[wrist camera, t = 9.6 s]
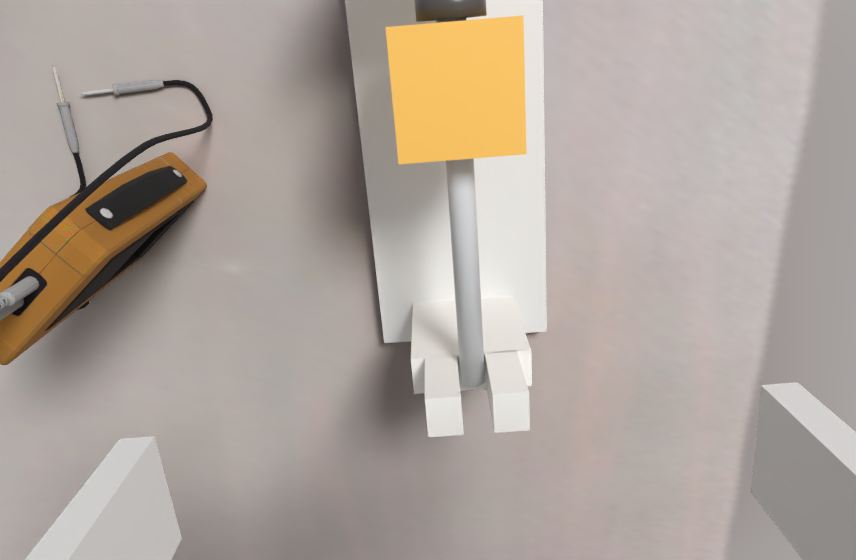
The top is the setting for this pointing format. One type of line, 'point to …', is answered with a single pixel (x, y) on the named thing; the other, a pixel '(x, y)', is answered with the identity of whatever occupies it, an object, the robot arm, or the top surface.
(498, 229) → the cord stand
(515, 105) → the cube with square hole
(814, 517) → the robot arm
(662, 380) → the top surface
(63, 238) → the multimeter
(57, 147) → the top surface
